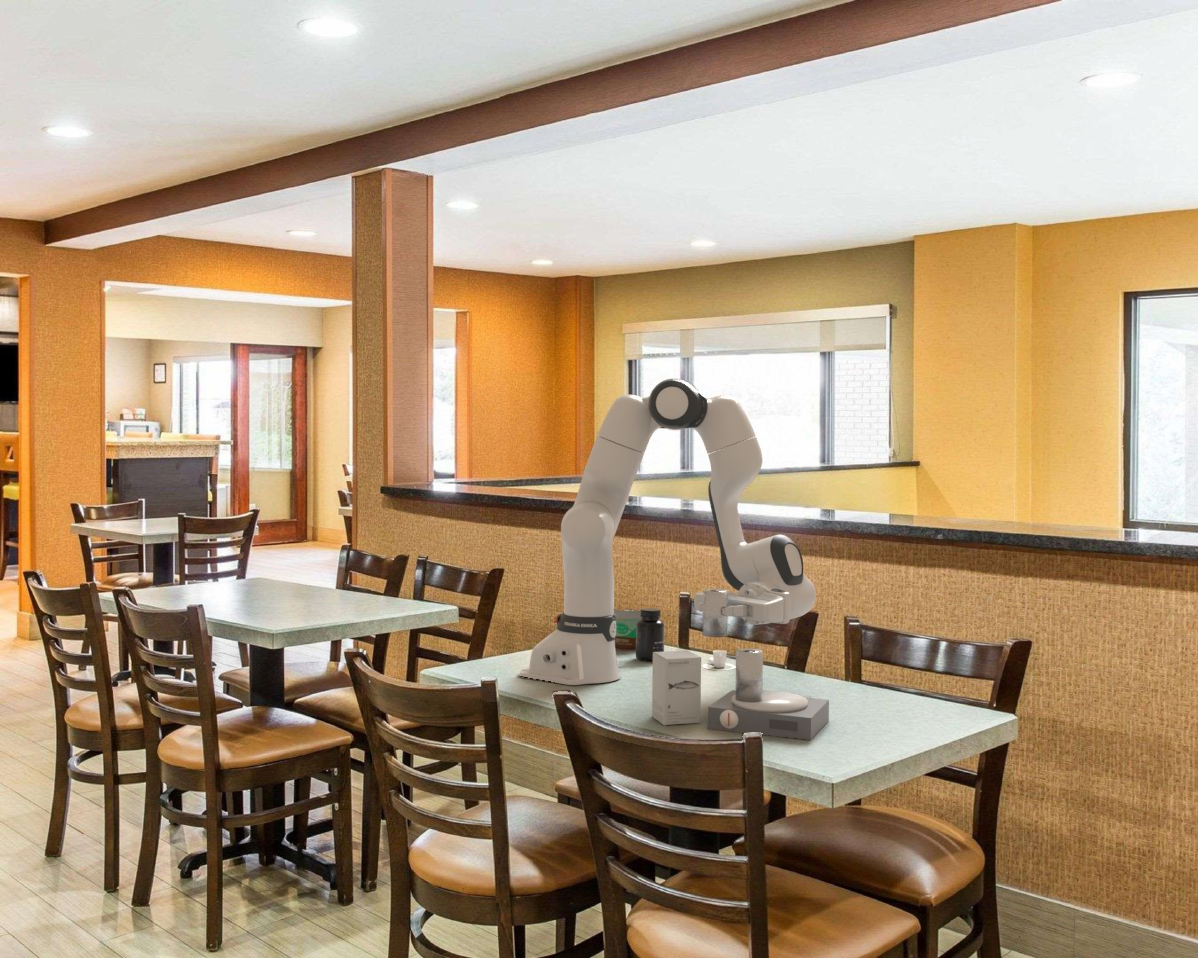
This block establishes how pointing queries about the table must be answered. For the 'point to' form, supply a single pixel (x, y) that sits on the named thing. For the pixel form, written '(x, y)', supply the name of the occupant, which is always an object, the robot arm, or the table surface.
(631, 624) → the food container
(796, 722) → the dial scale
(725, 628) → the cylinder
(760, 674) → the cylinder
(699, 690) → the supplement box
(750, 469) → the robot arm
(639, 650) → the supplement bottle
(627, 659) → the table surface
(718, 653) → the teacup and saucer
